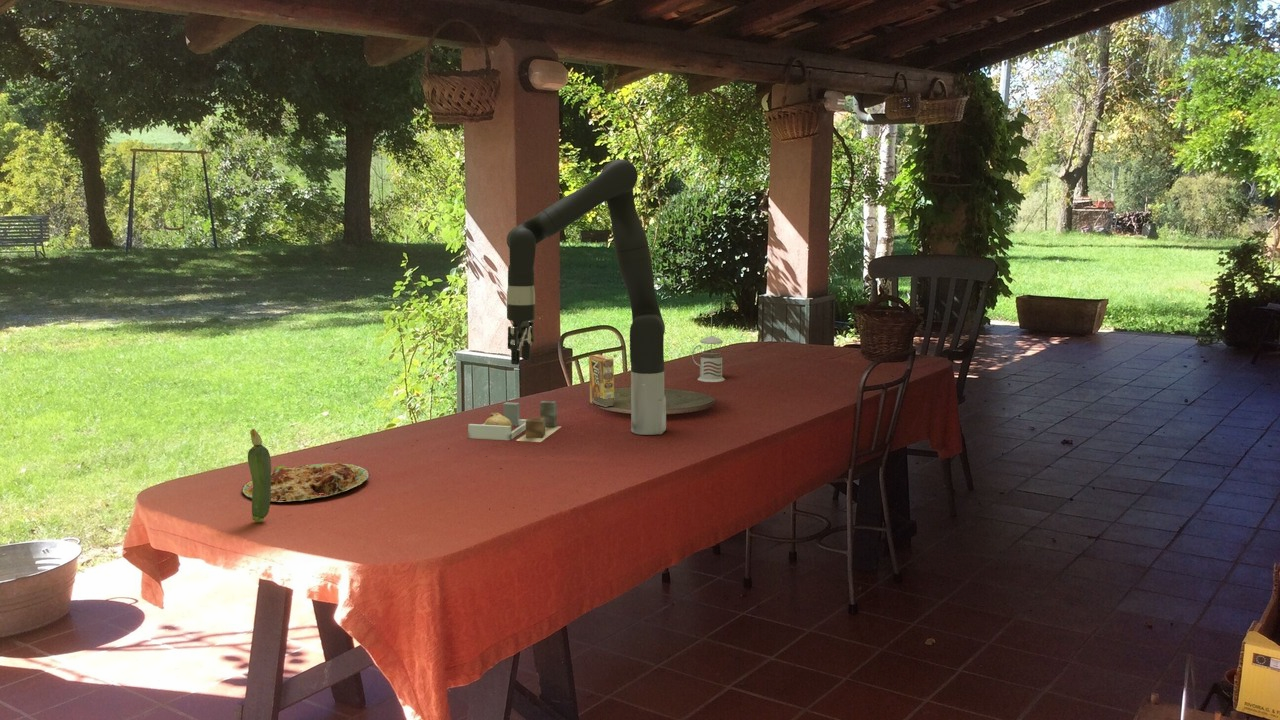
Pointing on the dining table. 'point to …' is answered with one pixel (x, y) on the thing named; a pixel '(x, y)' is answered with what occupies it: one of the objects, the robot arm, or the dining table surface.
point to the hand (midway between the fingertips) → (520, 361)
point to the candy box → (601, 377)
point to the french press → (715, 358)
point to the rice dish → (312, 481)
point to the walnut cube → (535, 427)
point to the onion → (498, 420)
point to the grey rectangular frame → (500, 431)
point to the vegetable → (260, 477)
